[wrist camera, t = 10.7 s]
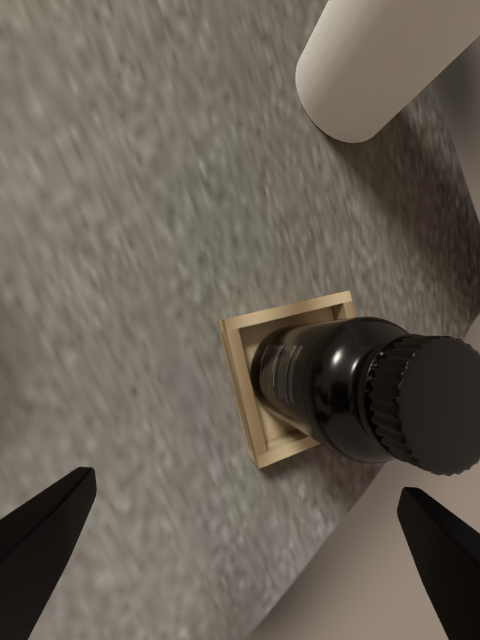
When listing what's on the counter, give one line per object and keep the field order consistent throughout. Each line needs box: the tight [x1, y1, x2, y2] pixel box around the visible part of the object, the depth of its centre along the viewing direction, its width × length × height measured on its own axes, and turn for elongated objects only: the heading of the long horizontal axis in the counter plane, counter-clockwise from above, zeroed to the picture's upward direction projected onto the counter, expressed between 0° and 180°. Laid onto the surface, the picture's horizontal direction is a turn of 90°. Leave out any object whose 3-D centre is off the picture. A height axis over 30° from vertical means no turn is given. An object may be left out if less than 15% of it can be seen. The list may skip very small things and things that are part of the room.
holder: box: [217, 290, 356, 469], centre depth 21 cm, size 10×10×2 cm
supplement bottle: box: [251, 317, 480, 476], centre depth 15 cm, size 7×7×12 cm
